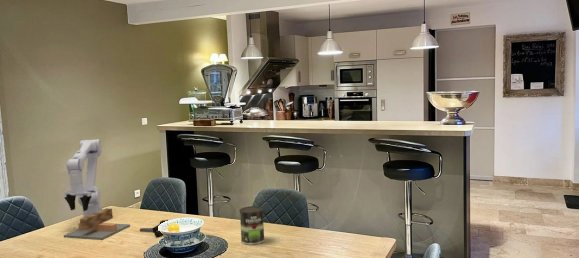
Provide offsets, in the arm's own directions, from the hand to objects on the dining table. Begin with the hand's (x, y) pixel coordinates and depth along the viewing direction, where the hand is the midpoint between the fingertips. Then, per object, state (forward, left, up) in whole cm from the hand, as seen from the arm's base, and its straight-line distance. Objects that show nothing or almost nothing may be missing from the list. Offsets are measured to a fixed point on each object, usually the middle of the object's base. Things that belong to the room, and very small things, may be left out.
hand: (79, 210), depth 219 cm
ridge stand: (0, +10, -10) cm, 14 cm away
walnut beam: (0, +10, -6) cm, 12 cm away
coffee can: (-1, +91, -11) cm, 92 cm away
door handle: (-8, +39, -11) cm, 42 cm away
